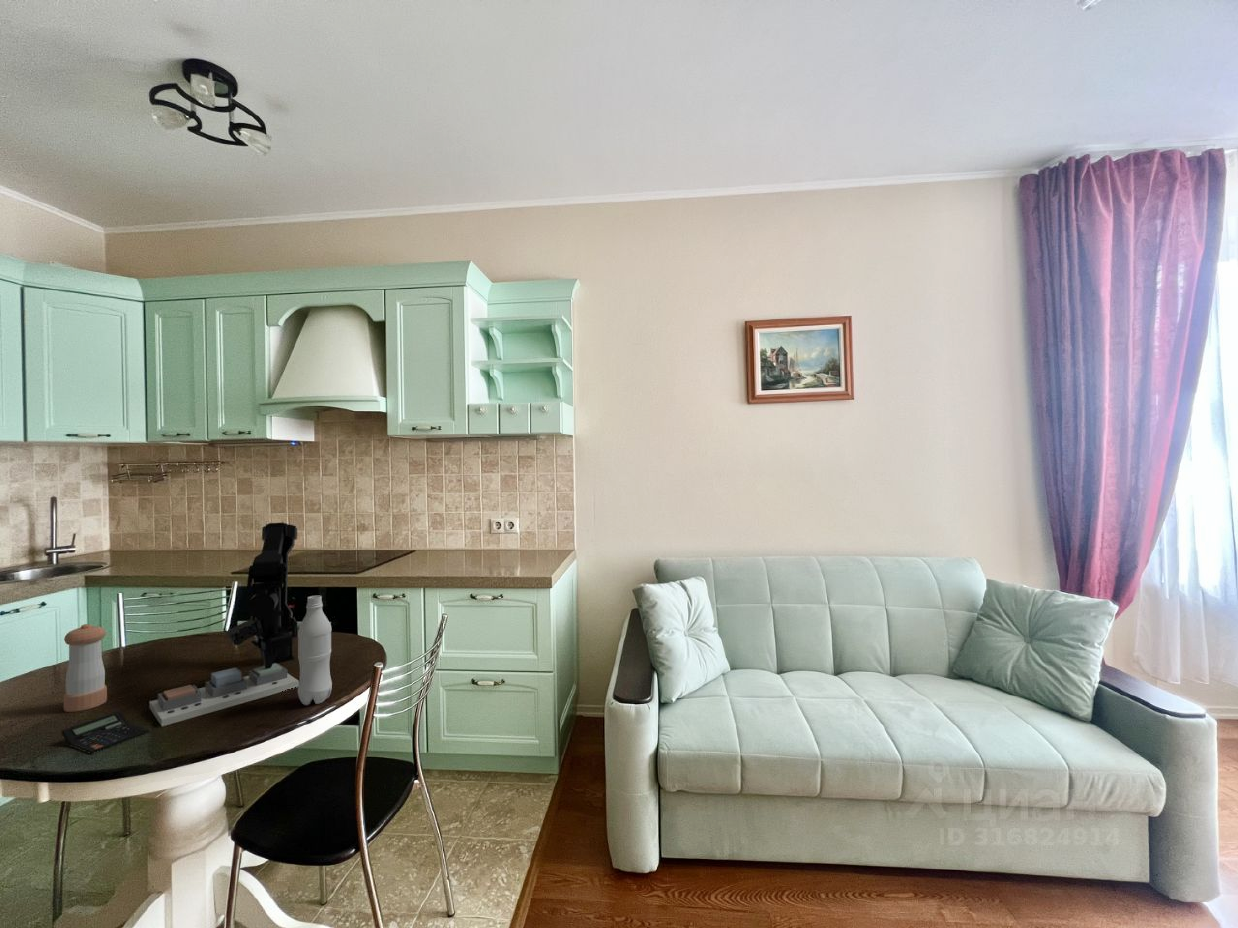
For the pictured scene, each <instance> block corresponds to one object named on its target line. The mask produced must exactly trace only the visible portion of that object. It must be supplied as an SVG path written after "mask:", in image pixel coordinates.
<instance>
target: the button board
mask: <svg viewBox="0 0 1238 928" xmlns="http://www.w3.org/2000/svg"><path fill="white" fill-rule="evenodd" d="M276 664H277V665H279V666H280V667H282V671H278V672H274V673H270V674H267V675H263V676H257V675H256V674H255V673H254V669H251V670H248V675H246V676H242V675H241V681H240V682H236V683H232V684H229V685H225V686H221V687H217V688H215V687H214V686H213V685H212V684H211V680H209V681H205V686H203V687H201V688H198V687H197V686H196V685H195V684H193V685H192V684H191V686H192V687H193V688H194V689H195V690H196V693H194V694H191V695H187V696H183V697H179V698H175V699H172V700H168V701H166V700H165V699H164V692H161V693H160V692H159V693H157V699H155V700H149V701H148V702H149V710H150V711H151V713H152V714H153V716H154V717H155V718H156V720H157V721H158V724H160V726H161V727H165V726H168V725H172V724H176V723H179V722H182V721H186V720H190V719H193V718H196V717H199V716H203V715H206V714H209V713H213V712H217V711H220V710H224V709H227V708H230V707H234V706H237V705H240V704H244V703H247V702H251V701H254V700H258V699H262V698H265V697H268V696H272V695H275V694H278V693H281V692H282V691H283V692H286V691H288V690H287V689H290V690H292V689H291V688H293V689H296V688H298V686H299V680H298V679H297V678H295V677H294V676H293V675H291V674H290V673H288V669H287V668H286V667H284V666H282V665H281V664H280V663H276ZM295 687H296V688H295ZM285 690H286V691H285Z"/></svg>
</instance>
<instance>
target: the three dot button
mask: <svg viewBox="0 0 1238 928" xmlns="http://www.w3.org/2000/svg"><path fill="white" fill-rule="evenodd" d="M163 693H164V699H165V700H166V701H168V700H172V699H175V698H179V697H183V696H187V695H191V694H194V693H196V690H195V689H194V688H193V687H192V684H189V685H185V686H180V687H175V688H172V689H167V690H164V691H163Z"/></svg>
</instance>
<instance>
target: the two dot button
mask: <svg viewBox="0 0 1238 928" xmlns="http://www.w3.org/2000/svg"><path fill="white" fill-rule="evenodd" d="M241 676H242V671H241V670H239V669H238V668H237V667H231V668H226V669H223V670H219V671H215V672H214V671H213V672H211V673H210V681H211V684H212V685H213V686H214V687H215V688H217V687H221V686H225V685H229V684H232V683H236V682H240V681H241Z"/></svg>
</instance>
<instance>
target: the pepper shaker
mask: <svg viewBox="0 0 1238 928" xmlns="http://www.w3.org/2000/svg"><path fill="white" fill-rule="evenodd" d="M106 633H107V632H106V630H105V628H104V627H102V626H98V625H90V623H89V624H88V623H85V624H82V625H81V626H80V627H78V628H75V629H72V630H71V631H69V632H67V633H66V635H65V636H64V639H63V640H64V643H65V644H66V645H68V665H67V670H66V674H65V693H64V694H63V711H64V712H66V713H67V712H69V713H70V712H71V713H72V712H81V711H85V710H90V709H92V708H96V707H99V706H100V705H103V704H105V703H107V701H108V700H107V699H108V695H107V694H108V688H107V687H108V686H107V685H106V684H105V682H106V681H105V679H106V669H105V666H104V662H103V658H102V657H103V655H102V639H104V638H105V637H106Z"/></svg>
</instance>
